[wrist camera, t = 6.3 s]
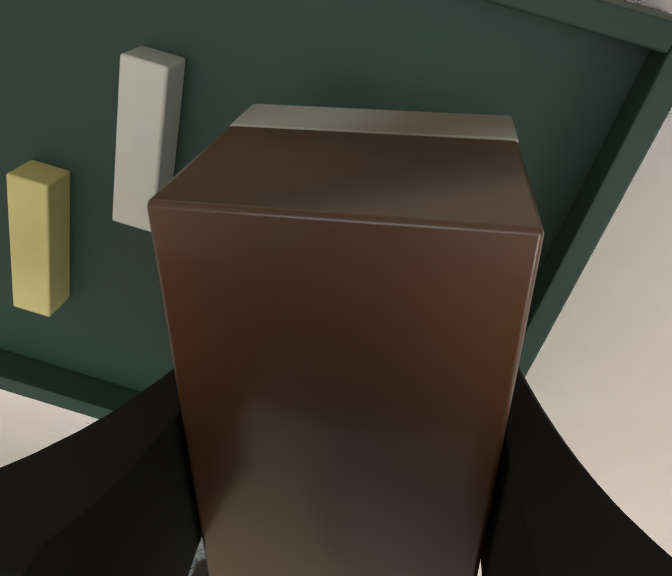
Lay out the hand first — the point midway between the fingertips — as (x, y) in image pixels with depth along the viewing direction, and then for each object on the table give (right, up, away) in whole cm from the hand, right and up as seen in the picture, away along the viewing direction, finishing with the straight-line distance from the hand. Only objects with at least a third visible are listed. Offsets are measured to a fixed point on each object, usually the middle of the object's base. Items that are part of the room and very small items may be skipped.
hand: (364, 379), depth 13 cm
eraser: (0, +1, +1) cm, 1 cm away
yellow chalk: (-9, +4, +5) cm, 11 cm away
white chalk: (-5, +6, +3) cm, 9 cm away
